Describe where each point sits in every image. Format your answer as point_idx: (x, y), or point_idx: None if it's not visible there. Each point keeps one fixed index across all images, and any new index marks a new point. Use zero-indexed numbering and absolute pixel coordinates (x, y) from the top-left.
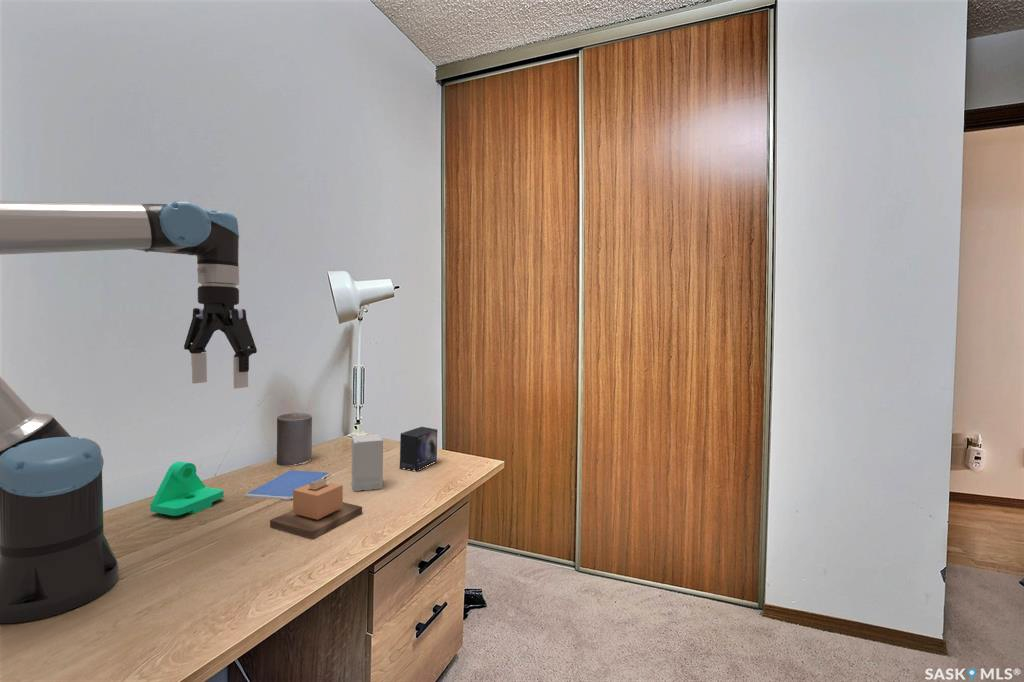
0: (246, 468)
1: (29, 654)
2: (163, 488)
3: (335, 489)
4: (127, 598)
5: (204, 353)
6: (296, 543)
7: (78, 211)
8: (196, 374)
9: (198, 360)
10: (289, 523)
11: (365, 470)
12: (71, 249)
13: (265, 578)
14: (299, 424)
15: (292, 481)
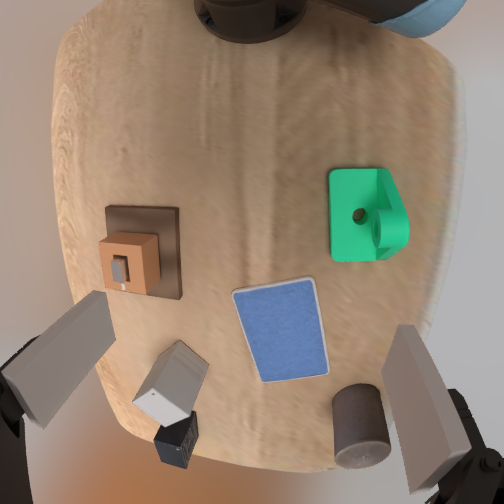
0: None
1: None
2: (386, 187)
3: (104, 274)
4: (172, 30)
5: (415, 487)
6: (116, 189)
7: None
8: (408, 362)
9: (425, 432)
10: (144, 213)
11: (159, 364)
12: None
13: (89, 122)
14: (341, 444)
15: (285, 341)
